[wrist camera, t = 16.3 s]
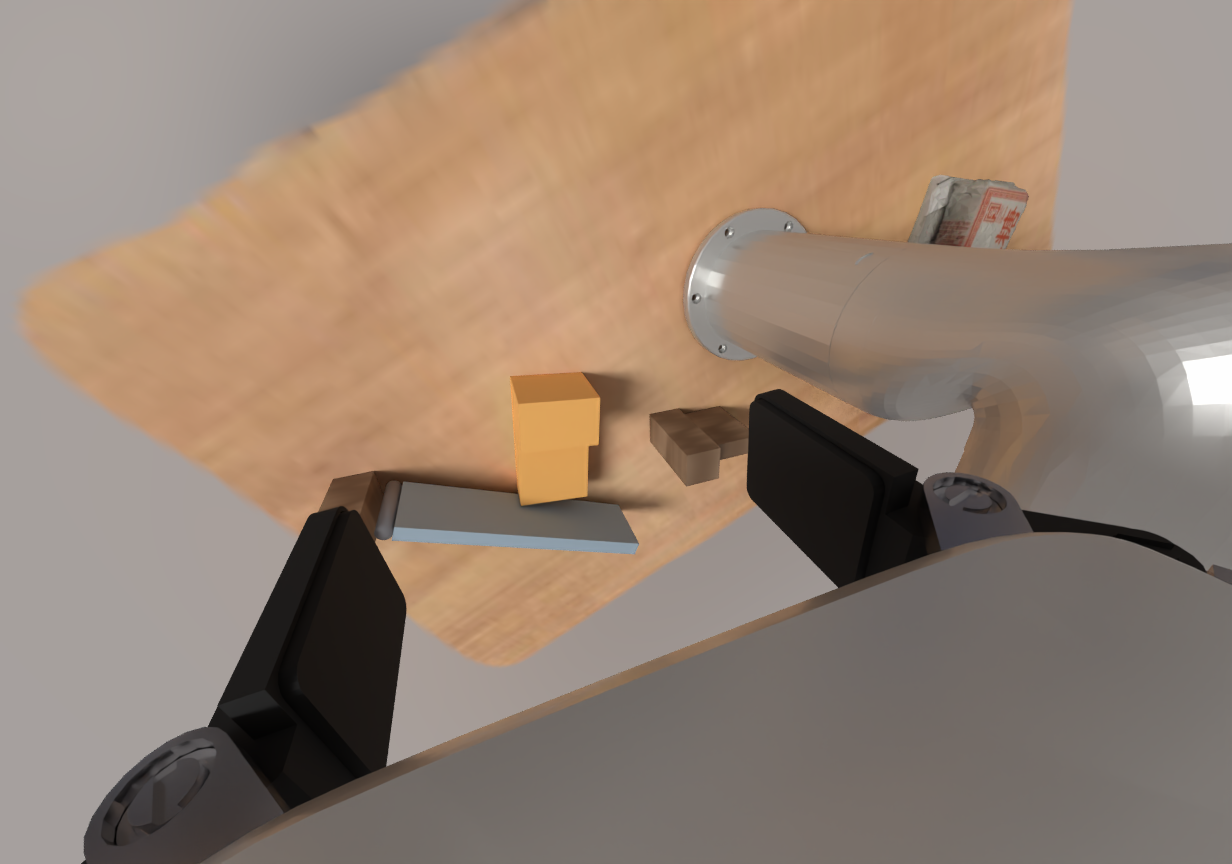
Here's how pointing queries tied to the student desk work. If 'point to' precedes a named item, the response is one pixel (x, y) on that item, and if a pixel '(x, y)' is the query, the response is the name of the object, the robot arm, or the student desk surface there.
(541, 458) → the orange stepped block
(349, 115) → the student desk surface
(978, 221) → the packaged product
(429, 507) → the gate door
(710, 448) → the wooden posts
